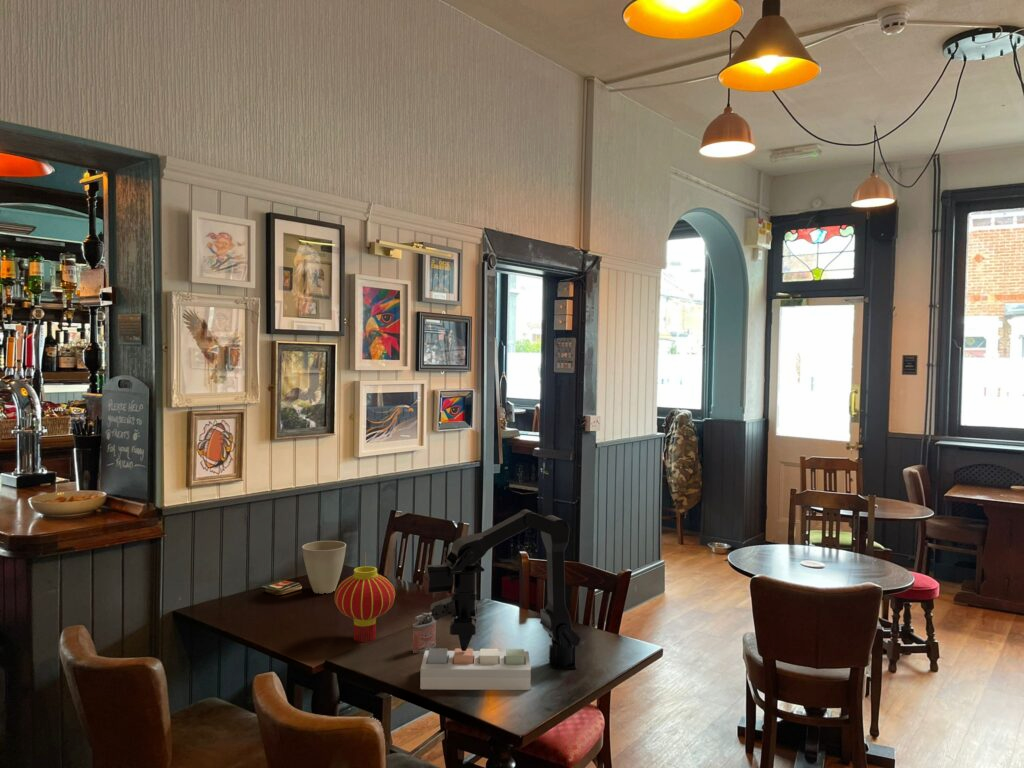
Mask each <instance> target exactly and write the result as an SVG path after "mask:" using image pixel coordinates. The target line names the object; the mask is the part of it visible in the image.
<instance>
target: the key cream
mask: <svg viewBox="0 0 1024 768" xmlns="http://www.w3.org/2000/svg"><path fill="white" fill-rule="evenodd" d="M479 651H480V664H498V651H499V648H480V650H479Z"/></svg>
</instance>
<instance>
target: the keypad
mask: <svg viewBox="0 0 1024 768" xmlns="http://www.w3.org/2000/svg"><path fill="white" fill-rule="evenodd" d="M454 652H455V650H448V657H447V664H428V653H429V650H425V652H423V653H424V654H423V657H422V661H421V662H422V663H421V666H420V680H419V681H420V686H419V687H420V690H460V691H461V690H469V691H470V690H476V691H477V690H478V691H479V690H480V691H484V690H485V691H487V690H489V691H494V690H495V691H509V690H510V691H531V681H532V680H531V674H532V673H531V671H532V670H531V668H532V667H531V663H530V662H531V661H530V652H529V651H527V650H524V665H506V650H498V664H480V650H473V663H472V664H454Z"/></svg>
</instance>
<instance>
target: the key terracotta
mask: <svg viewBox="0 0 1024 768" xmlns="http://www.w3.org/2000/svg"><path fill="white" fill-rule="evenodd" d="M454 651H455V652H454V664H472V663H473V651H474V648H467V650H466V651H462V650H461V648H458V647H457V648H454Z"/></svg>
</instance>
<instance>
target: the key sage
mask: <svg viewBox="0 0 1024 768" xmlns="http://www.w3.org/2000/svg"><path fill="white" fill-rule="evenodd" d="M505 651H506V665H524V651H525V648H506V649H505Z"/></svg>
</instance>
